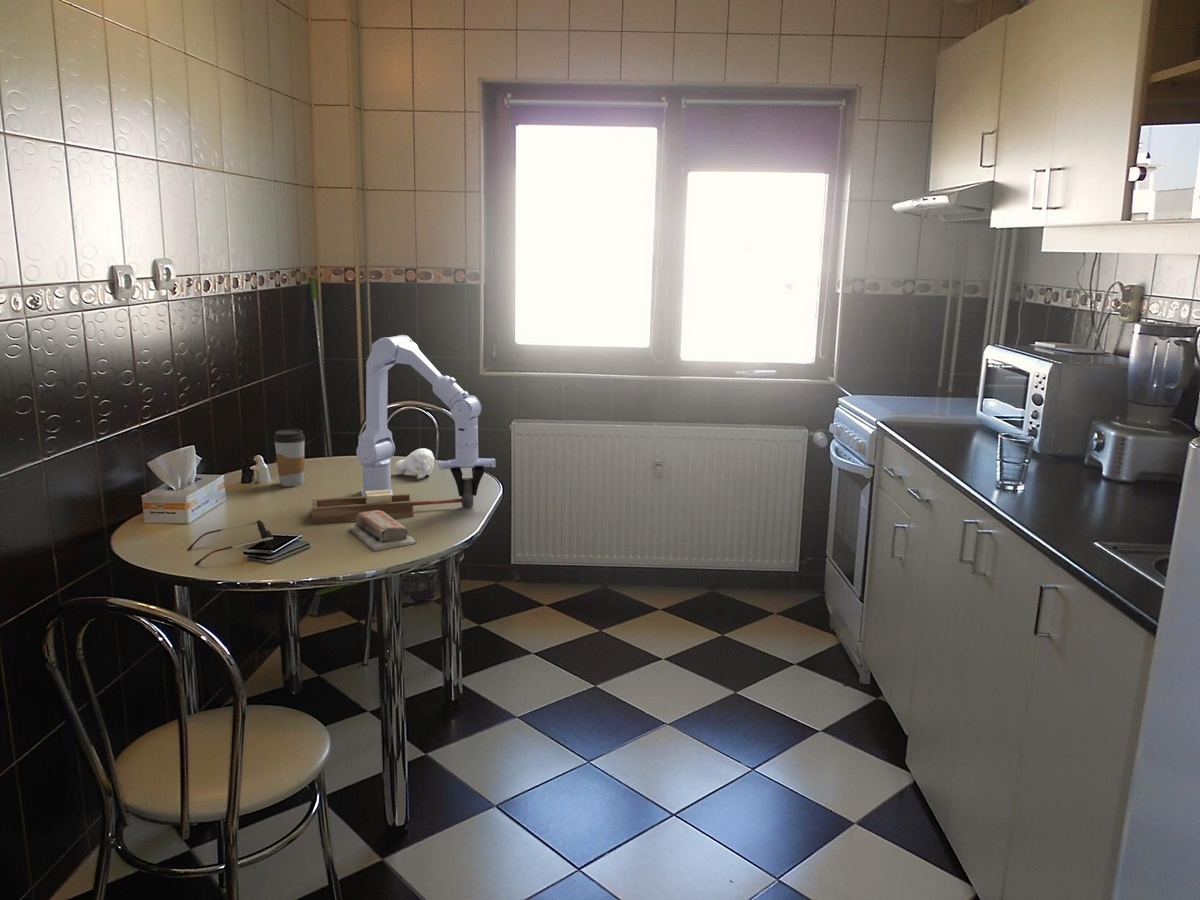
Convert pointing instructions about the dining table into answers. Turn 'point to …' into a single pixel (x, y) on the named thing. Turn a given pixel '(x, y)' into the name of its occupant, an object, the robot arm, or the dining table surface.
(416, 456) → the white animal figurine
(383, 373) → the robot arm
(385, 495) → the grey and red rod
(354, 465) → the dining table surface
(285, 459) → the coffee cup
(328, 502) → the lane tray
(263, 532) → the sunglasses
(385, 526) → the packaged product
